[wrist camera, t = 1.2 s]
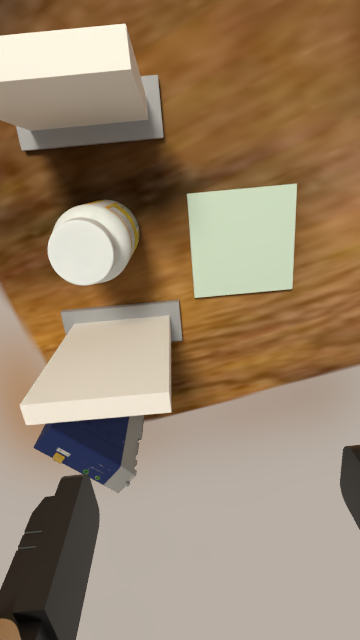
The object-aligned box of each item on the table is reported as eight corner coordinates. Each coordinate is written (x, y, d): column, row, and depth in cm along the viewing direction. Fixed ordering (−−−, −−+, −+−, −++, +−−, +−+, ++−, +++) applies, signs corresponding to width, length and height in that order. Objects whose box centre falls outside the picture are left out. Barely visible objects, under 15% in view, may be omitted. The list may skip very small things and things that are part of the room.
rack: (10, 91, 25) (-137, 7, 13) (158, 77, 25) (146, -20, 13) (71, 347, 33) (15, 442, 21) (182, 338, 33) (189, 427, 21)
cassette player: (75, 363, 34) (29, 451, 23) (88, 346, 33) (47, 429, 22) (135, 400, 36) (119, 498, 25) (148, 385, 35) (138, 479, 24)
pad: (186, 193, 28) (187, 193, 27) (294, 183, 28) (296, 183, 27) (194, 295, 31) (194, 297, 31) (290, 287, 31) (292, 289, 31)
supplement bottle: (145, 208, 28) (134, 220, 20) (133, 268, 30) (118, 304, 21) (81, 191, 28) (39, 197, 19) (73, 254, 30) (32, 286, 21)
